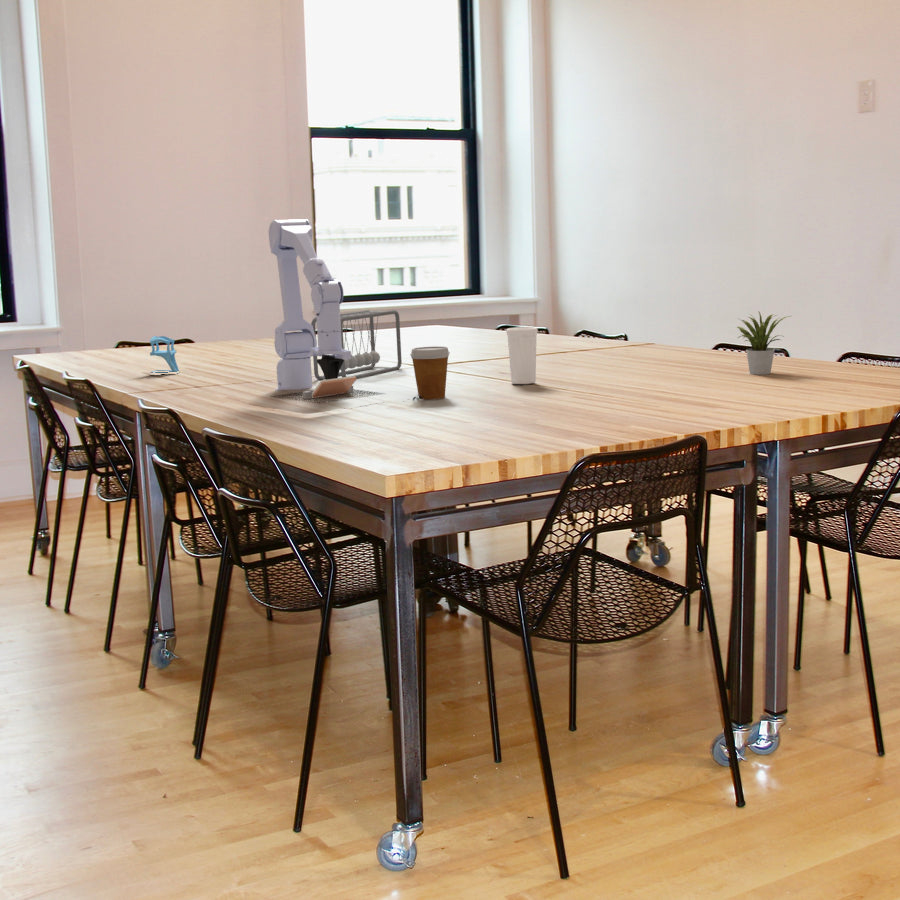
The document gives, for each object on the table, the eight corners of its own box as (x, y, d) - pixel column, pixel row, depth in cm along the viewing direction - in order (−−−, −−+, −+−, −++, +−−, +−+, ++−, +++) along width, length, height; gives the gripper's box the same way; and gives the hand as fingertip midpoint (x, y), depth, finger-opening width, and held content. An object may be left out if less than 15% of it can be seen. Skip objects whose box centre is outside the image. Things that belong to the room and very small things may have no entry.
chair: (175, 375, 341) (172, 336, 338) (148, 376, 341) (145, 337, 339) (181, 372, 348) (178, 334, 346) (155, 373, 348) (152, 335, 346)
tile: (311, 394, 269) (321, 380, 265) (344, 389, 276) (354, 375, 271) (312, 397, 269) (322, 383, 265) (346, 392, 275) (356, 379, 271)
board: (269, 400, 275) (268, 390, 274) (335, 390, 288) (334, 380, 287) (319, 408, 258) (318, 397, 258) (387, 397, 271) (386, 387, 271)
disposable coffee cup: (417, 401, 262) (415, 351, 260) (408, 396, 271) (405, 347, 269) (456, 398, 264) (454, 348, 262) (445, 394, 273) (443, 345, 271)
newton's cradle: (344, 382, 306) (340, 317, 303) (313, 381, 311) (309, 317, 308) (402, 369, 331) (399, 309, 328) (373, 368, 337) (370, 309, 333)
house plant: (787, 369, 292) (788, 306, 289) (798, 375, 279) (799, 310, 276) (732, 370, 294) (732, 308, 291) (740, 377, 280) (741, 312, 277)
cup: (537, 385, 281) (535, 329, 278) (505, 386, 283) (503, 330, 280) (541, 381, 289) (539, 326, 286) (510, 382, 291) (508, 327, 288)
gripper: (298, 331, 271) (301, 386, 274) (332, 334, 260) (335, 391, 263) (322, 328, 275) (325, 383, 278) (357, 331, 265) (359, 388, 267)
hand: (332, 387), depth 271 cm, fingers closed, pressing on tile
